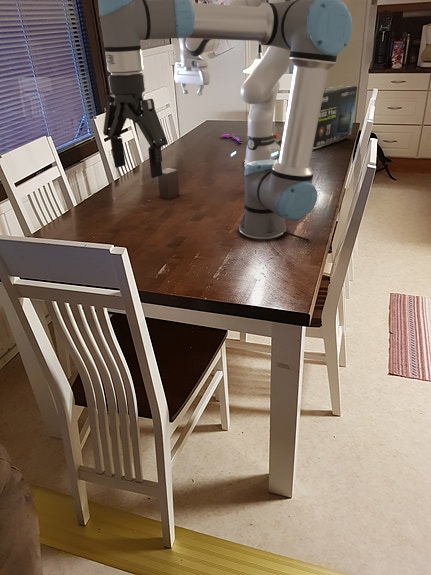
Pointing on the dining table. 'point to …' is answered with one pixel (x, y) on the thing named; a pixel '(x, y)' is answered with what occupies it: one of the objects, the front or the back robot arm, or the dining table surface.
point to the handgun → (232, 138)
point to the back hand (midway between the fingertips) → (192, 94)
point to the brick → (168, 183)
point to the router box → (335, 114)
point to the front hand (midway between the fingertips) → (138, 171)
